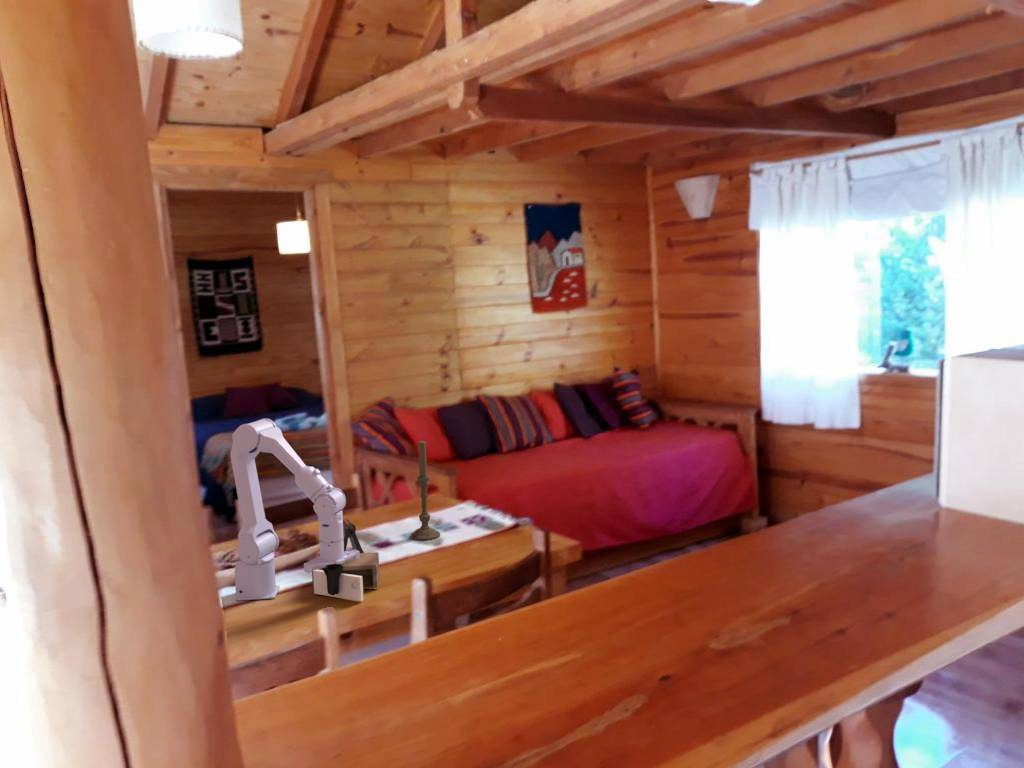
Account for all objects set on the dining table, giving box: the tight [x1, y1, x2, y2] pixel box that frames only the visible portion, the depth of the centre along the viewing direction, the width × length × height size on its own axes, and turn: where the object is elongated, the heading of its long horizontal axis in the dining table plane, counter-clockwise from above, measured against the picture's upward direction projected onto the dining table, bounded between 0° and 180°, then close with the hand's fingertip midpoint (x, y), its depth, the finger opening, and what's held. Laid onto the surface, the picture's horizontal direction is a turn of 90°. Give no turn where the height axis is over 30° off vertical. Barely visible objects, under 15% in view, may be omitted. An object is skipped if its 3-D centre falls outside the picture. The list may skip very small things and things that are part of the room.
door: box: [313, 569, 364, 602], centre depth 206 cm, size 14×2×6 cm, turn 65°
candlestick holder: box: [410, 440, 441, 542], centre depth 255 cm, size 9×9×30 cm
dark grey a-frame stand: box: [343, 518, 365, 553], centre depth 232 cm, size 9×6×12 cm, turn 116°
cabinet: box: [311, 551, 381, 594], centre depth 216 cm, size 16×10×6 cm, turn 96°
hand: (333, 593), depth 205 cm, fingers closed, pressing on door
